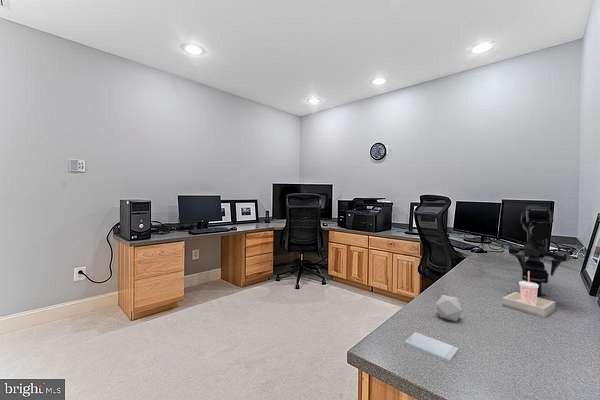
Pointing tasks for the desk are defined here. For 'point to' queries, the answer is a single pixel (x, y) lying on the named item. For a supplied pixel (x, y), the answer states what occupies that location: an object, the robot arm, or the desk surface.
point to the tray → (529, 305)
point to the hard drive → (432, 347)
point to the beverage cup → (528, 291)
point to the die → (449, 308)
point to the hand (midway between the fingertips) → (537, 272)
